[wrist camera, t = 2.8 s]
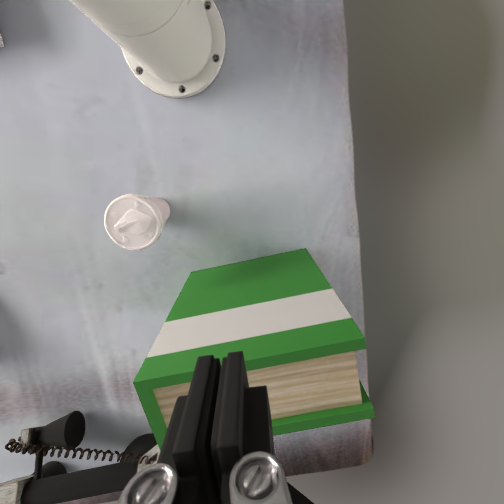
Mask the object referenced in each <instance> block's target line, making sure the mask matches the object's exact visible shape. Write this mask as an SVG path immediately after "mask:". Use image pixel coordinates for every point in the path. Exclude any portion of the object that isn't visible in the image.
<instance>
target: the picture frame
mask: <svg viewBox="0 0 504 504" xmlns="http://www.w3.org/2000/svg"><path fill="white" fill-rule="evenodd" d="M0 47H5V46H4V43H3V40H2V36H1V33H0Z"/></svg>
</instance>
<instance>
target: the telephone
mask: <svg viewBox="0 0 504 504" xmlns="http://www.w3.org/2000/svg"><path fill="white" fill-rule="evenodd" d="M84 434H85V418H84V416H83V414H82V413H81V412H79V411H74V412H72V413H70V414H68V415H66V416H64V417H62V418H60V419H58V420H56V421H54V422H52V423H50V424H48V425H46V426H43V427H36V428H29V429H24V430H22V433H21V437H19V439H18V441H19V442H20V443H19V442H16V440H15V439H10V441H9V443H8V444H6V446H5V449H7V450H9V451H10V452H14V451H15V453H19V452H21V451H22V454H25V453H26V452H27V451H28V453H30V455H31V454H34V453H36V461H35V472H34V473H33V474H31V475H30V476H25V477H21V478H16V479H13V480H10V481H7V482H4V483H1V484H0V504H56V503H61V502H66V501H72V500H77V499H82V498H87V497H92V496H97V495H102V494H107V493H112V492H117V491H122V490H124V489H125V487H126V485H127V484H128V482H129V481H130V480H131V479H132V478H133V476H134V475H135V474H136V473H138V472H139V471H141V470H142V469H143V468H145V467H147V466H150V465H152V464H156V463H157V460H158V457H159V454H160V450H159V447H158V444H157V442H156V439H155V437H154V434H146V435H143V436H140V437H138V438H136V439H135V440H134V441H132V442H131V443H130V444H129V445H128V447H127V448H126V449H125V451H124V452H122V453H121V454H119V452H118V451H115V453H116V454H117V455H118V458H117V462H119V460H120V457H121V456H122V457H121V460H120V463H116V464H111V465H106V466H101V467H96V468H91V469H86V470H81V471H76V472H71V473H67V471H66V469H65V467H64V465H63V464H62V463H60V462H57V461H51V462H48V463H46V464H44V465H43V466H42V462H43V456H46V455H47V453H48V450H50V449H52V452H51V453H50V456H51V457H53V455H54V452H55V450H56V449H59V450H60V451H59V452H58V458H59V457H60V456H61V453H62V450H63V449H66V450H67V452H66V453H65V456H64V458H67V457H68V455H69V451H70V450H73V452H74V454H73V456H72V458H75V457H76V452H77V451H81V455H80V458H79V459H82V457H83V455H84V452H86V451H88V456H87V460H88V459H89V458H90V457H91V453H92V452H93V450H90V449H85V450H83V449H82V448H77V449H75V448H76V447H77V446H78V445H79V444H80V443H81V442H82V440H83V437H84ZM13 443H14V444H13ZM9 445H11V447H10V448H9V447H8V446H9ZM17 445H19V446H18V447H17ZM53 446H55V447H56V448H54V447H53ZM13 447H14V448H13ZM16 447H17V448H16ZM62 447H63V448H62ZM15 449H16V450H15ZM18 449H19V450H18ZM94 451H95V453H96V456H95V460H96V459H97V458H98V454H99V453H101V452H103V451H102V450H100V451H98V450H97V449H94ZM107 453H111V456H110V458H109V461H112V458H113V455H114V454H113V453H112V452H111V451H110V450H107V451H106V452H103V457H102V461H103V460H104V459H105V456H106V454H107Z"/></svg>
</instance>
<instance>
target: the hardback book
mask: <svg viewBox="0 0 504 504" xmlns="http://www.w3.org/2000/svg"><path fill="white" fill-rule="evenodd" d="M362 349H366V342H365V337H364V336H363V334H362V333H361V331H360V330H359V328H358V327H357V325H356V323H355V322H354V320H353V319H352V317H351V316H350V314H349V313H348V311H347V310H346V308H345V307H344V305H343V304H342V302H341V301H340V299H339V298H338V296H337V295H336V293H335V292H334V290H333V289H332V287H331V286H330V284H329V283H328V281H327V279H326V278H325V276H324V275H323V273H322V272H321V270H320V269H319V267H318V266H317V264H316V263H315V261H314V260H313V258H312V257H311V255H310V254H309V252H308V251H307V249H306V248H304V249H300V250H295V251H290V252H285V253H281V254H276V255H271V256H266V257H261V258H257V259H252V260H247V261H242V262H238V263H233V264H228V265H223V266H219V267H214V268H209V269H204V270H200V271H195V272H191V274H190V276H189V277H188V279H187V281H186V283H185V285H184V287H183V289H182V291H181V293H180V294H179V296H178V298H177V300H176V302H175V304H174V306H173V308H172V310H171V311H170V313H169V315H168V317H167V319H166V321H165V323H164V325H163V327H162V328H161V330H160V332H159V334H158V336H157V338H156V340H155V342H154V344H153V345H152V347H151V349H150V351H149V353H148V355H147V357H146V359H145V361H144V363H143V364H142V366H141V368H140V370H139V372H138V374H137V376H136V378H135V380H134V381H133V384H134V386H135V389H136V391H137V394H138V396H139V399H140V401H141V404H142V407H143V409H144V412H145V414H146V417H147V419H148V422H149V424H150V427H151V429H152V432H153V434H154V437H155V439H156V442H157V444H158V447H159V450H160V451H161V447H162V444H163V441H164V438H165V435H166V431H167V428H168V425H169V422H170V419H171V415H172V412H173V409H174V406H175V403H176V400H177V398H178V397H179V396H185V395H188V392H189V388H190V384H191V381H192V377H193V373H194V369H195V366H196V362H197V359H198V357H199V356H206V355H214V358H219V359H220V364H221V365H222V359H223V357H227V355H228V353H229V352H237V351H243V355H244V360H245V366H246V372H247V377H248V383H249V387H256V386H264V385H266V386H267V391H268V398H269V404H270V411H271V420H272V430H273V436H275V435H280V434H286V433H291V432H297V431H303V430H308V429H314V428H319V427H325V426H331V425H336V424H342V423H348V422H353V421H359V420H364V419H370V418H375V414H374V408H373V406H372V404H371V402H370V400H369V398H368V396H367V394H366V392H365V390H364V388H363V386H362V384H361V382H360V380H359V376H358V369H357V362H356V355H355V351H356V350H362Z"/></svg>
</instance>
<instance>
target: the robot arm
mask: <svg viewBox="0 0 504 504" xmlns="http://www.w3.org/2000/svg"><path fill="white" fill-rule="evenodd" d="M69 1H70V2H71V3H73V4H74V5H75V6H76V7H77V8H78V9H80V10H81V11H82V12H83V13H84V14H85V15H86V16H87V17H88V18H89V19H90V20H92V21H93V22H94V23H95V24H96V25H97V26H98V27H99V28H100V29H102V30H103V31H104V32H105V33H106V34H107V35H108V36H109V37H110V38H112V39H113V40H114V41H115V42H116V43H117V44H118V45H119V46H120V47H121V48H122V51H123V54H124V57H125V60H126V62H127V63H128V65H129V67H130V69H131V71H132V72H133V73H134V75H135V76H136V77H137V78H138V79H139V80H140V81H141V82H142V83H143V84H144V85H145V86H146V87H148V88H149V89H150V90H152V91H154V92H156V93H158V94H160V95H163V96H166V97H170V98H185V97H190V96H193V95H196V94H198V93H199V92H201V91H203V90H204V89H205V88H206V87H208V86H209V85H210V84H211V83H212V81H213V80H214V79H215V77H216V76H217V75H218V72H219V70H220V68H221V66H222V63H223V59H224V56H225V46H226V42H225V31H224V26H223V22H222V19H221V16H220V13H219V11H218V9H217V7H216V5H215V3H214V2H213V0H69ZM207 7H210V9H206V8H207ZM216 58H217V59H218V62H215V59H216ZM140 71H143V73H142V74H140ZM182 89H185V92H184V93H182ZM117 504H314V503H313V502H311V501H310V500H309V499H308V498H306V497H305V496H304V495H303V494H301V493H300V492H299V491H298V490H296V489H295V488H294V487H293V486H291V485H290V484H289V483H288V482H287V481H286V477H285V473H284V470H283V467H282V465H281V463H280V461H279V460H278V459H277V458H276V457H275V454H274V442H273V430H272V420H271V411H270V404H269V398H268V391H267V386H266V385H264V386H256V387H249V383H248V377H247V372H246V366H245V360H244V355H243V351H237V352H229V353H228V355H227V357H223V359H222V365H221V364H220V359H219V358H214V355H206V356H199V357H198V359H197V362H196V366H195V369H194V373H193V377H192V381H191V384H190V388H189V392H188V395H185V396H179V397H178V398H177V400H176V403H175V406H174V409H173V412H172V415H171V419H170V422H169V425H168V428H167V431H166V435H165V438H164V441H163V444H162V447H161V451H160V454H159V457H158V460H157V463H156V464H152V465H150V466H147V467H145V468H143V469H142V470H141V471H139V472H138V473H136V474H135V475H134V476H133V478H132V479H131V480H130V481H129V482H128V484H127V485H126V487H125V489H124V490H123V492H122V494H121V496H120V498H119V500H118V502H117Z"/></svg>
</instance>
